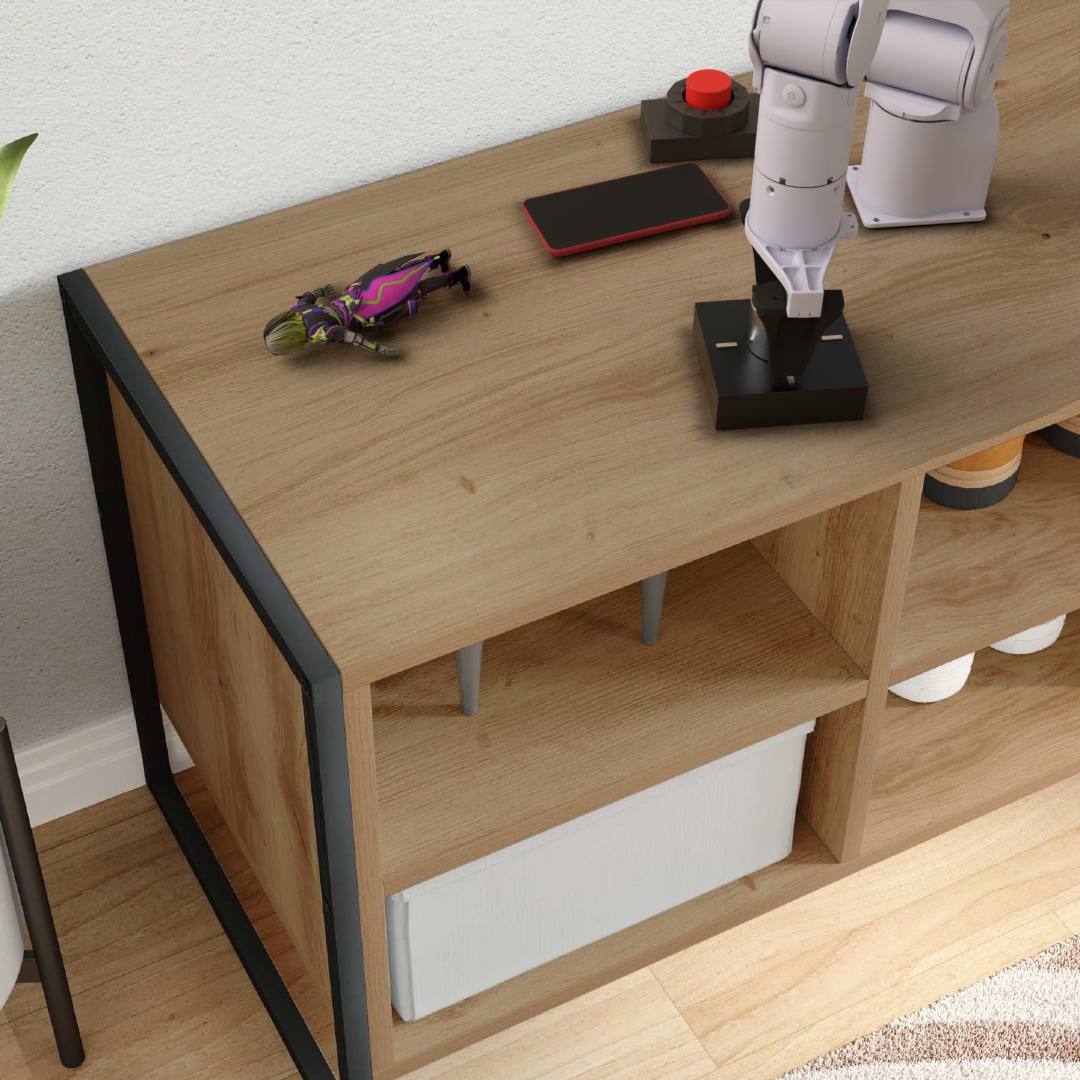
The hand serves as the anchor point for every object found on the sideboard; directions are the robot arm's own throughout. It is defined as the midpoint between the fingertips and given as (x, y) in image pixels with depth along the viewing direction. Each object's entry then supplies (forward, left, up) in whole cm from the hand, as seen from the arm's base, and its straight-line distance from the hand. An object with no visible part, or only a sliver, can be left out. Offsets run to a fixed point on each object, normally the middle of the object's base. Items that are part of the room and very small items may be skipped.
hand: (780, 335), depth 106 cm
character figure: (+28, -9, -4) cm, 30 cm away
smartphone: (+8, -20, -4) cm, 22 cm away
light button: (0, -30, 0) cm, 30 cm away
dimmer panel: (0, 0, -4) cm, 4 cm away
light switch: (0, -30, -4) cm, 30 cm away
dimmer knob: (0, 0, -1) cm, 1 cm away
